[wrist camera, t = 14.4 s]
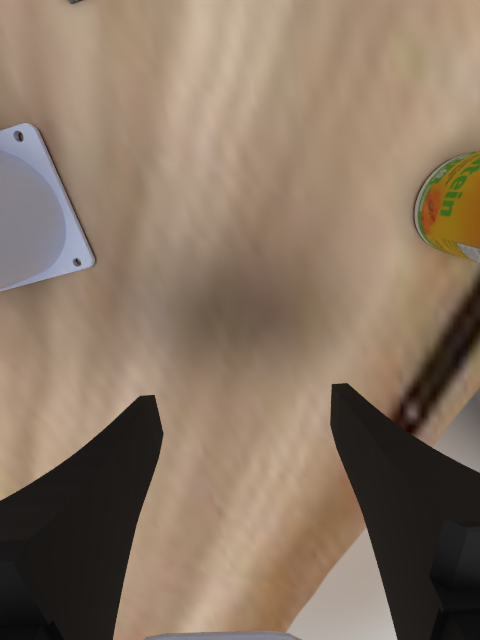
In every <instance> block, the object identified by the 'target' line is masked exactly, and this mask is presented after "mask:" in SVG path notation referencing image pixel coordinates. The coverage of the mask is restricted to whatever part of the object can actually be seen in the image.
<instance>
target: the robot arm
mask: <svg viewBox="0 0 480 640" xmlns="http://www.w3.org/2000/svg"><path fill="white" fill-rule="evenodd" d="M20 132H21V133H22V134H23V137H24V139H23V141H22V142H21V141H20V140H19V137H18V135H19V133H20ZM76 258H78V259H79V260H80V261H81V265H79V264H77V263H76ZM94 263H95V258H94V256H93V253H92V251H91V249H90V246H89V244H88V242H87V240H86V237H85V235H84V233H83V230H82V228H81V226H80V224H79V221H78V219H77V217H76V214H75V212H74V210H73V208H72V205H71V203H70V201H69V199H68V196H67V194H66V192H65V189H64V187H63V185H62V183H61V180H60V178H59V176H58V173H57V171H56V169H55V167H54V164H53V162H52V160H51V158H50V155H49V153H48V151H47V148H46V146H45V144H44V142H43V139H42V137H41V135H40V132H39V131H38V129H37V128H36V127H35V126H34V125H31V124H28V123H22V124H19V125H16V126H13V127H10V128H7V129H4V130H1V131H0V291H4V290H7V289H11V288H15V287H19V286H22V285H26V284H30V283H34V282H38V281H41V280H45V279H49V278H53V277H56V276H60V275H64V274H68V273H71V272H75V271H79V270H83V269H86V268H89V267H91V266H93V265H94ZM330 425H331V429H332V433H333V437H334V441H335V444H336V448H337V450H338V453H339V456H340V458H341V461H342V463H343V465H344V468H345V470H346V473H347V475H348V478H349V480H350V483H351V485H352V488H353V490H354V492H355V495H356V497H357V500H358V502H359V505H360V508H361V511H362V513H363V517H364V520H365V523H366V526H367V530H368V533H369V536H370V540H371V543H372V547H373V550H374V554H375V557H376V560H377V564H378V568H379V571H380V575H381V578H382V582H383V586H384V589H385V593H386V597H387V601H388V604H389V608H390V612H391V616H392V620H393V624H394V628H395V632H396V636H397V639H398V640H480V473H479V472H477V471H475V470H473V469H471V468H469V467H467V466H465V465H462V464H461V463H458V462H457V461H455V460H453V459H451V458H449V457H448V456H446V455H444V454H442V453H440V452H439V451H437V450H435V449H433V448H432V447H430V446H428V445H427V444H425V443H424V442H422V441H420V440H419V439H417V438H416V437H414V436H413V435H411V434H410V433H408V432H407V431H405V430H404V429H403V428H401V427H400V426H398V425H397V424H396V423H394V422H393V421H392V420H390V419H389V418H388V417H386V416H385V415H384V414H383V413H381V412H380V411H379V410H378V409H376V408H375V407H374V406H373V405H372V404H371V403H369V402H368V401H367V400H366V399H365V398H364V397H362V396H361V395H360V394H359V393H358V392H357V391H356V390H355V389H353V388H352V387H351V386H350V385H349V384H348V383H343V384H332V394H331V420H330ZM162 439H163V430H162V425H161V421H160V416H159V412H158V408H157V403H156V399H155V395H147V396H140V397H138V398H137V399H136V400H135V401H134V402H133V403H132V404H131V405H130V406H129V407H127V408H126V409H125V410H124V411H123V412H122V413H121V414H120V415H119V416H118V417H117V418H116V419H115V420H114V421H113V422H112V423H110V424H109V425H108V426H107V427H106V428H105V429H104V430H103V431H102V432H100V433H99V434H98V435H97V436H96V437H94V438H93V439H92V440H91V441H90V442H89V443H87V444H86V445H85V446H84V447H83V448H81V449H80V450H79V451H78V452H76V453H75V454H74V455H72V456H71V457H70V458H68V459H67V460H65V461H64V462H63V463H61V464H60V465H58V466H57V467H56V468H54V469H53V470H51V471H49V472H48V473H46V474H45V475H43V476H42V477H40V478H39V479H37V480H35V481H34V482H32V483H31V484H29V485H27V486H26V487H24V488H22V489H21V490H19V491H17V492H15V493H14V494H12V495H10V496H8V497H7V498H5V499H3V500H1V501H0V640H113V635H114V629H115V623H116V618H117V613H118V608H119V603H120V597H121V592H122V587H123V582H124V578H125V573H126V568H127V564H128V559H129V555H130V550H131V546H132V542H133V538H134V533H135V529H136V525H137V522H138V518H139V515H140V512H141V509H142V506H143V503H144V500H145V497H146V494H147V491H148V488H149V485H150V482H151V480H152V477H153V474H154V471H155V468H156V465H157V462H158V458H159V454H160V450H161V445H162ZM144 640H301V639H299V638H297V637H295V636H293V635H291V634H289V633H283V632H275V631H236V632H201V633H166V634H161V635H155V636H150V637H146V638H145V639H144Z"/></svg>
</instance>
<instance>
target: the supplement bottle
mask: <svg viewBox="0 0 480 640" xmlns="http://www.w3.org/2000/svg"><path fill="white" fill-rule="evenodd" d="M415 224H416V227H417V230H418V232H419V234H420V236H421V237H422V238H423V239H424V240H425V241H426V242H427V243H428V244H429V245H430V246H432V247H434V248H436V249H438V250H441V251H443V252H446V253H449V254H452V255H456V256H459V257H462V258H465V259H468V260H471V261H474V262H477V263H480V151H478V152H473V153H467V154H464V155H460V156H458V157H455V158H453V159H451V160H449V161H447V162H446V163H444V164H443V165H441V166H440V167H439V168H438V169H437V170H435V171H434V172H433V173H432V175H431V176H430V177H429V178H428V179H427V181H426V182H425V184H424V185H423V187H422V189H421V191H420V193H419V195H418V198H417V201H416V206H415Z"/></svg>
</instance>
